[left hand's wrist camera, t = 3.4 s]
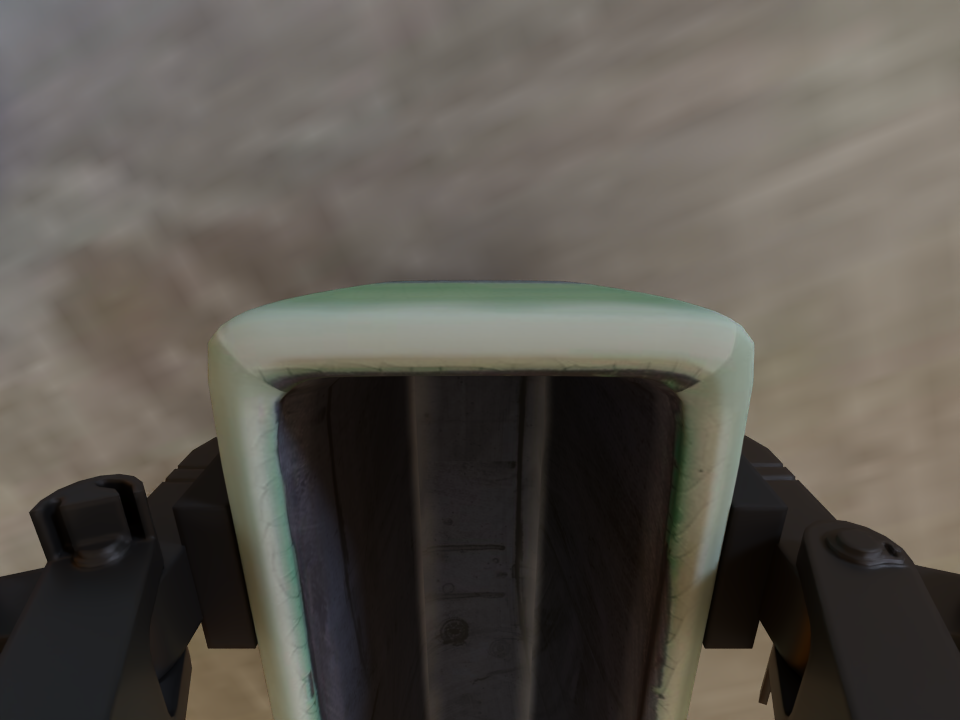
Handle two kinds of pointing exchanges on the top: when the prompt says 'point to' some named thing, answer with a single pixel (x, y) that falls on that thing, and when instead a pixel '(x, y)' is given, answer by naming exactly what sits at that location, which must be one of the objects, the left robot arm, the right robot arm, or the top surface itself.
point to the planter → (480, 496)
